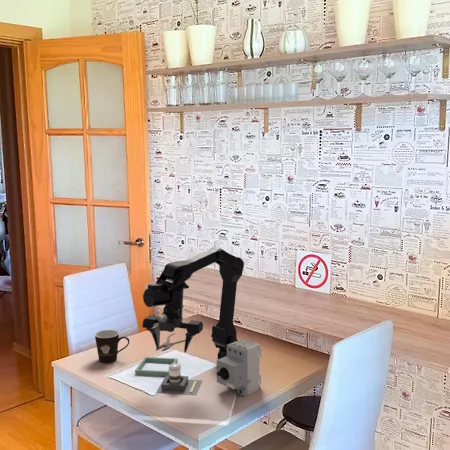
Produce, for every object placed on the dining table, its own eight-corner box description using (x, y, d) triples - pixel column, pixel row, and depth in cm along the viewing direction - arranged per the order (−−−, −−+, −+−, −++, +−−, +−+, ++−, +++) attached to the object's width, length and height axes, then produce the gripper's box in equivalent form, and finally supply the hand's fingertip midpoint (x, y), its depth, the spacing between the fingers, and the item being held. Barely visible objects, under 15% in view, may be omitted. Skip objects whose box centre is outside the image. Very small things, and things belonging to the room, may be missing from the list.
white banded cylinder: (182, 383, 187) (181, 363, 186) (179, 389, 184) (179, 368, 183) (170, 383, 188) (170, 363, 187) (168, 388, 184) (167, 367, 183)
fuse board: (202, 383, 190) (202, 374, 190) (196, 398, 180) (196, 389, 179) (164, 381, 192) (164, 372, 192) (155, 395, 181) (155, 386, 181)
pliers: (194, 333, 236) (179, 351, 217) (194, 335, 236) (179, 353, 217) (171, 332, 238) (155, 349, 219) (171, 334, 238) (155, 351, 219)
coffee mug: (91, 362, 208) (89, 335, 207) (105, 354, 216) (104, 328, 214) (117, 367, 203) (116, 340, 202) (131, 358, 211) (130, 332, 209)
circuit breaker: (213, 395, 182) (212, 349, 179) (244, 381, 191) (244, 338, 189) (230, 403, 176) (229, 356, 174) (261, 388, 186) (261, 344, 184)
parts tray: (177, 365, 205) (177, 358, 205) (169, 379, 193) (169, 372, 193) (145, 363, 207) (144, 356, 206) (135, 377, 195) (135, 370, 195)
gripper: (137, 305, 177) (135, 354, 179) (195, 311, 174) (192, 362, 175) (149, 297, 188) (147, 344, 190) (204, 303, 184) (202, 351, 186)
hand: (171, 350), depth 185 cm, fingers open, 9 cm apart
